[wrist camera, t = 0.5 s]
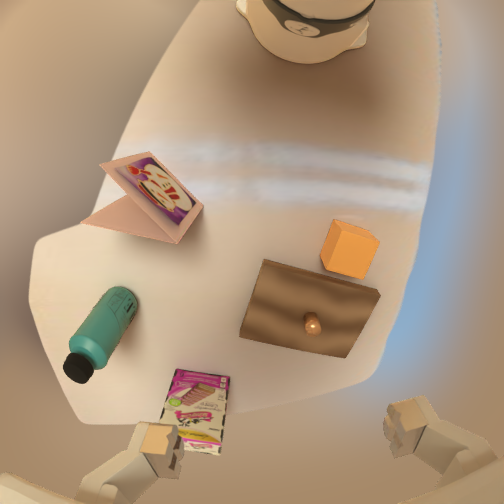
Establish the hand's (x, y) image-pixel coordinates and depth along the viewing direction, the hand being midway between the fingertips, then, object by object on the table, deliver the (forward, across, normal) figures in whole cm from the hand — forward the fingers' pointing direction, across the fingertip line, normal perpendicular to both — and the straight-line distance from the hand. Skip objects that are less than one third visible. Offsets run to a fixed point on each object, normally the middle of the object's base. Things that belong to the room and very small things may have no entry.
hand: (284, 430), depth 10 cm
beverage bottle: (+38, +25, +10) cm, 46 cm away
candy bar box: (+40, +14, +30) cm, 52 cm away
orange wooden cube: (+36, -12, +3) cm, 38 cm away
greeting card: (+36, +14, -7) cm, 39 cm away
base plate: (+37, -7, +15) cm, 41 cm away
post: (+35, -7, +15) cm, 39 cm away
